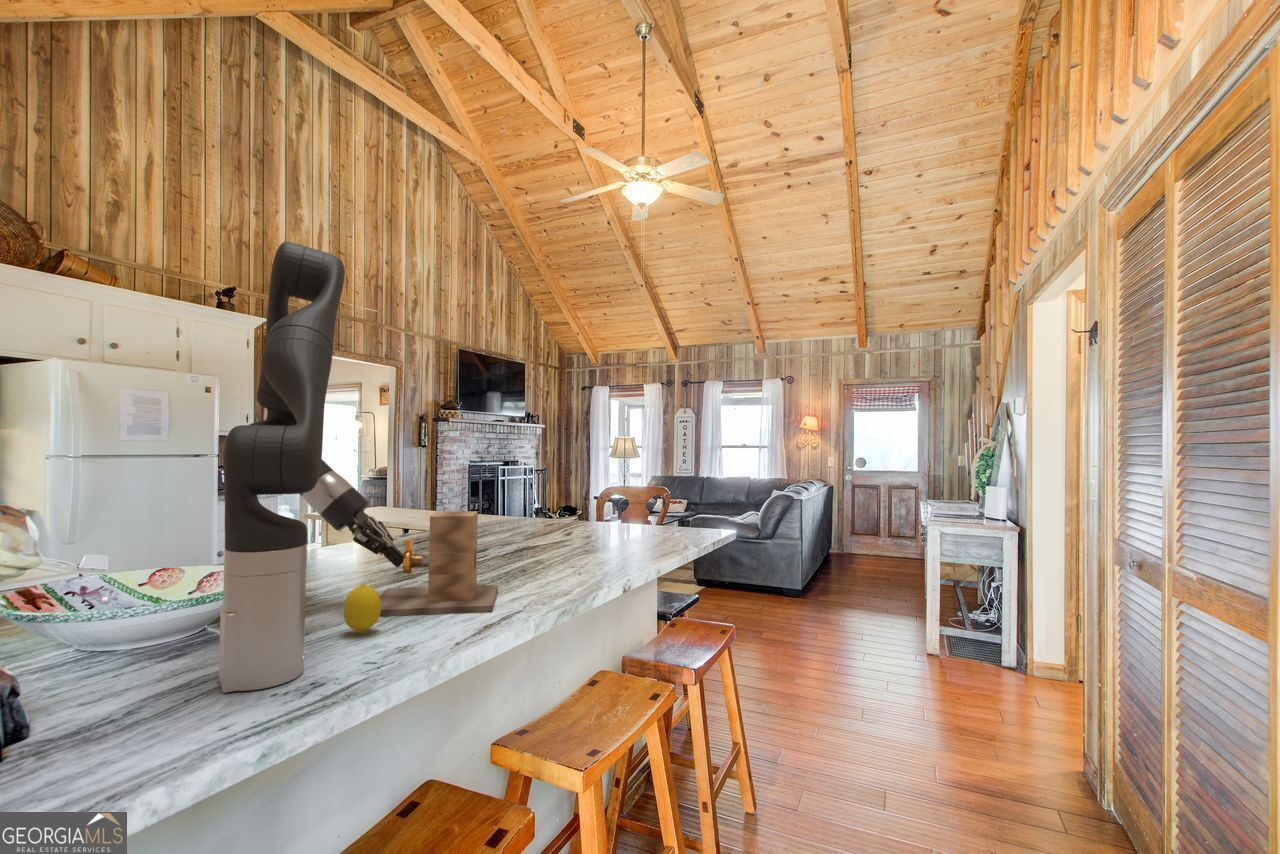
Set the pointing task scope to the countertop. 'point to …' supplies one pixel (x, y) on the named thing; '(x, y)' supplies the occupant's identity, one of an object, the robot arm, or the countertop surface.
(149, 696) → the countertop surface
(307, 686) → the countertop surface
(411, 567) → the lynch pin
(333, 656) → the countertop surface
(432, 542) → the hitch post
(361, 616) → the lemon
